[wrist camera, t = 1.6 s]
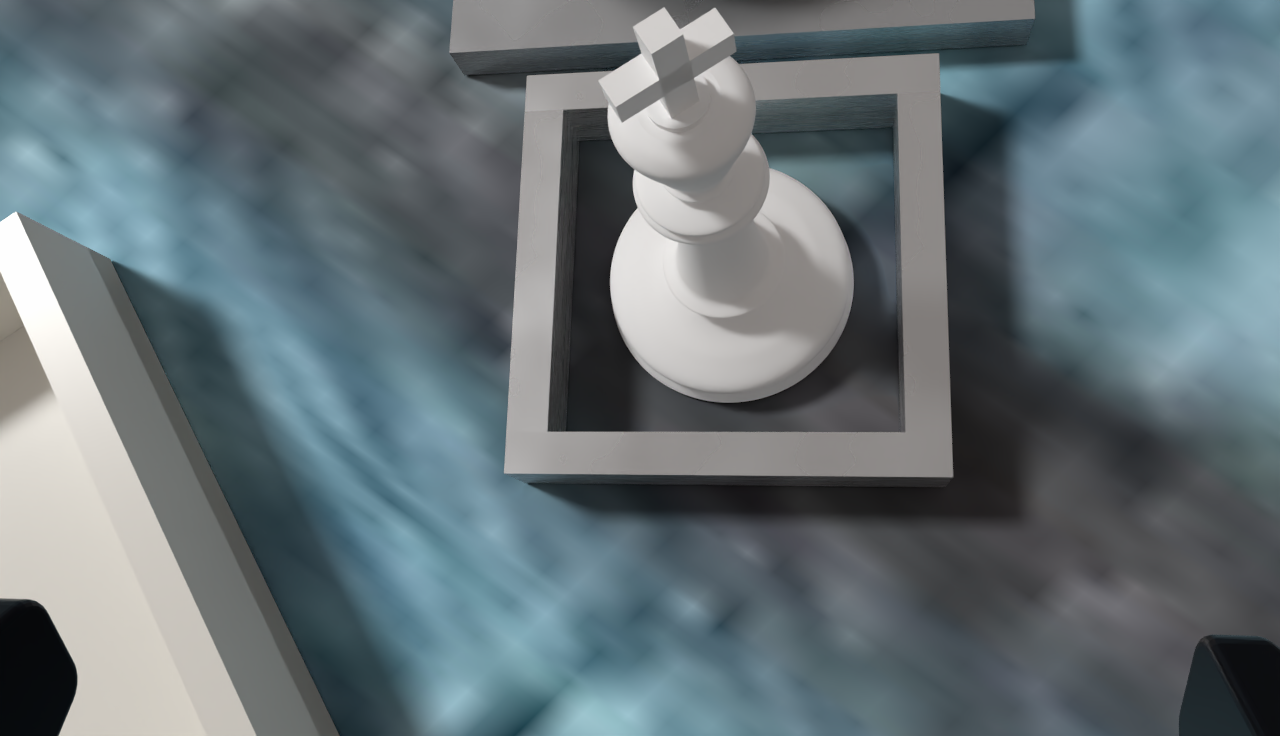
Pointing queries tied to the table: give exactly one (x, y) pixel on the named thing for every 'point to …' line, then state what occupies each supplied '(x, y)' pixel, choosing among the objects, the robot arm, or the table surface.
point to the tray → (127, 517)
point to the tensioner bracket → (785, 102)
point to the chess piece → (716, 227)
